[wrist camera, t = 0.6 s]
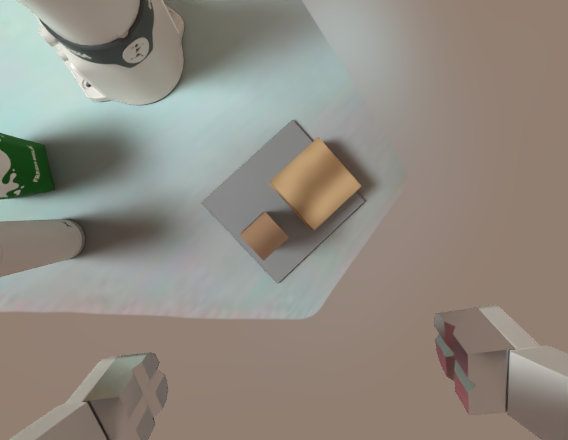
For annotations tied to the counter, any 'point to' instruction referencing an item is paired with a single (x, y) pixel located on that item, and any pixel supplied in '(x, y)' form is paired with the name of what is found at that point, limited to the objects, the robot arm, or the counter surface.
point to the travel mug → (38, 243)
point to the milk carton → (23, 168)
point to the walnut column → (263, 235)
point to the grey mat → (272, 203)
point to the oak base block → (314, 184)
